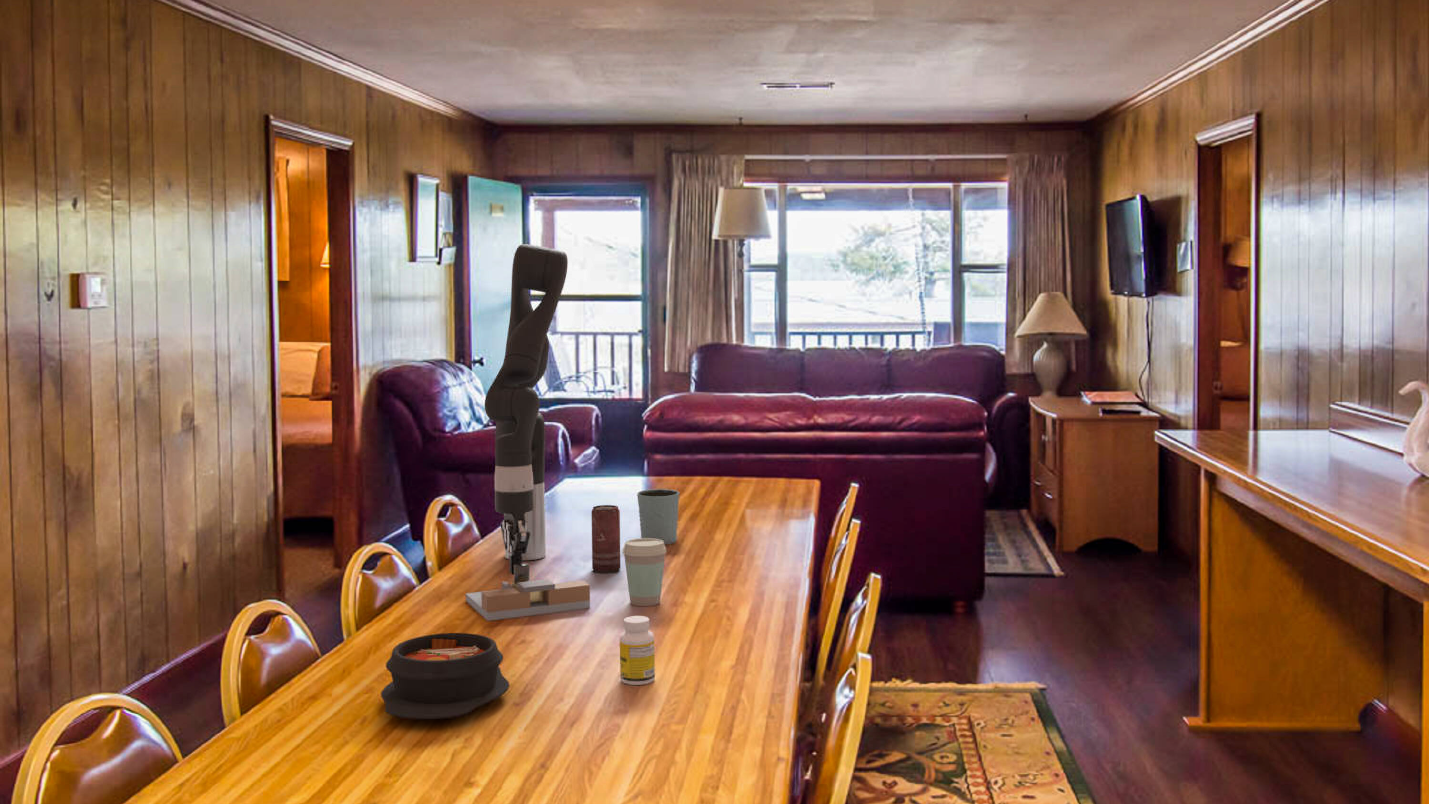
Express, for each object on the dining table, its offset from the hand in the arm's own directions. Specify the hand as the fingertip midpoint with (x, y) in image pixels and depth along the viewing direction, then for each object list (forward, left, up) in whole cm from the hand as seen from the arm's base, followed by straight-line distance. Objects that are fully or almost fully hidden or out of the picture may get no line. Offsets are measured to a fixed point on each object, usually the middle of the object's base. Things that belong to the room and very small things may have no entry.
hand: (515, 573), depth 239 cm
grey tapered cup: (-36, +46, -5) cm, 59 cm away
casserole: (+55, -27, -5) cm, 61 cm away
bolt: (+7, 0, -3) cm, 8 cm away
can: (-13, +24, -5) cm, 28 cm away
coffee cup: (+16, +21, -5) cm, 27 cm away
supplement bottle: (+59, +2, -5) cm, 59 cm away
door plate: (+7, 0, -5) cm, 8 cm away
